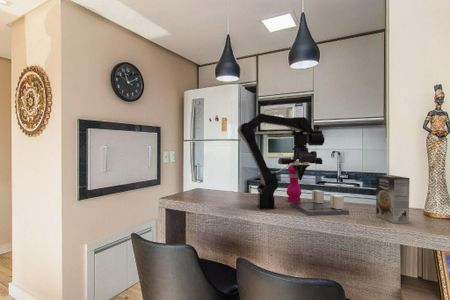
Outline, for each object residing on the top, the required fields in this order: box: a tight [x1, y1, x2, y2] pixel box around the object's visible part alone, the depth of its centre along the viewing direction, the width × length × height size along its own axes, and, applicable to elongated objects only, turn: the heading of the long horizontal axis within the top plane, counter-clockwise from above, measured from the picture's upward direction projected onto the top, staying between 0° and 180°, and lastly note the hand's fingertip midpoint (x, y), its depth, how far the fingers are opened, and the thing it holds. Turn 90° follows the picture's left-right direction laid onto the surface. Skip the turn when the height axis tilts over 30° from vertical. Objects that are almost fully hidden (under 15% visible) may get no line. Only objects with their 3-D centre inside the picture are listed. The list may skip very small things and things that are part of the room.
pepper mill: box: [286, 165, 302, 203], centre depth 126 cm, size 7×7×20 cm
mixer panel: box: [289, 200, 350, 217], centre depth 109 cm, size 17×20×2 cm
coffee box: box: [375, 174, 411, 224], centre depth 93 cm, size 9×6×16 cm
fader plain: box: [311, 189, 325, 203], centre depth 116 cm, size 3×5×5 cm, turn 7°
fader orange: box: [329, 193, 345, 209], centre depth 104 cm, size 3×5×5 cm, turn 7°
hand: (300, 180), depth 114 cm, fingers closed
